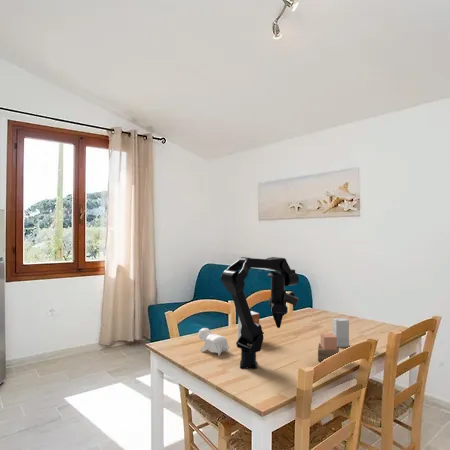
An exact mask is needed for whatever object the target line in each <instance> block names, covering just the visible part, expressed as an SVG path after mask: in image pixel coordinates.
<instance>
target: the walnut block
mask: <svg viewBox="0 0 450 450" xmlns="http://www.w3.org/2000/svg"><path fill="white" fill-rule="evenodd" d="M338 352H339V353H340V347H339V345H337V350H324V349H323V348H322V346H321V342H319V343H318V348H317V362H318V361H319V363H322V362H321V361H323V360H324V359H326V358H328V357H330V356H332V355H334V354H336V353H338Z"/></svg>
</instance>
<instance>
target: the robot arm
mask: <svg viewBox="0 0 450 450" xmlns="http://www.w3.org/2000/svg"><path fill="white" fill-rule="evenodd" d="M287 261H288V260H287V258H286V257H277V256H271V257H267V258H253V257H252V258H251V257H247V256H242V257H239V258H238V259H237V260H236V261H235V262H234V263H232V264H231V265H229V266H228V267H227V268H226V269H225V270H224V271H223V272H222V273H221V276H220V281H221V282H222V285H223V286H224V288H225V290H226V291H228V293H229V294H230V296H231V298H232V302H233V304H234V307H235V310H236V312H237V314H238V316H239V319H240V321H241V324H242V327H241V336H240V338H239V339H238V338H237V341H236V342H235V344H236V347H237V348H238V349H240V356H241V357H240V358H241V359H240V361H239V362H240V363H239V368H240V369H255V370H256V369H258V362H257V353H259V352H261V349H262V346H263V342H264V334H265V333H264V331H263V329H262V325H261V324H260V323H259V324H257V323H254V321H253V318H252V315H251V312H250V311H251V309H250V306H249V304H248V301H247V297H246V294H245V291H244V288H245V286H246V285H245V284H246V283H245V280H246V278H247V277H248V275H249V271H250V269H253V268H254V269H267V270H270V273H268V274H267V275H266V276H267V278H270V297H269V298H268V304H269V307H270V310H271V315H272V317H273V320H274V322H275V325H276V328H277V329H281V325H282V321H283V317H284V316H286V315H287V313H288V311H289V310H288V306H287V305H286V304H287V303H288V304H290V305H292V306H294V307H297V305H298V303H299V300H300V298H299V297H298V296H295V295H296V294H295V292H293V291H290V292H289V293H288V292H287V291H286V287H289V286H290V287H291V286H297V284H299V281H300V278H299V275H298V273H296V269H294V268H293V269H292V268H291V267H290V265H289V263H288V262H287Z"/></svg>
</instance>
